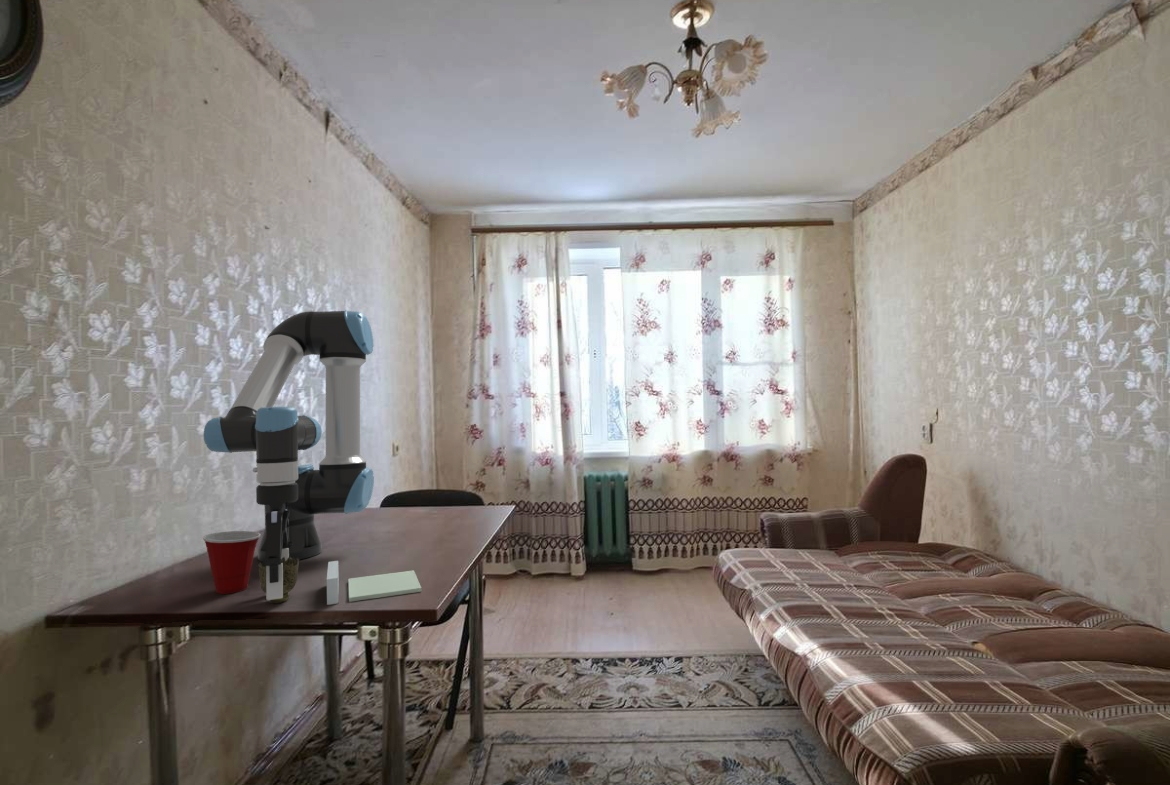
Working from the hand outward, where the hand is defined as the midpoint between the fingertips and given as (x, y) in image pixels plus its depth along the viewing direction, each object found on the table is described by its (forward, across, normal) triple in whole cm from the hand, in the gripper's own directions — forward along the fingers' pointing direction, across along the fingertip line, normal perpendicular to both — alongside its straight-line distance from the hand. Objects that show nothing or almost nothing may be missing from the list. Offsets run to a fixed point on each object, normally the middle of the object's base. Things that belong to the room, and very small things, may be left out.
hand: (278, 589), depth 118 cm
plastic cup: (+3, -13, -10) cm, 17 cm away
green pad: (+2, 0, +20) cm, 20 cm away
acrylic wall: (+2, 0, +10) cm, 10 cm away
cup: (+3, 0, 0) cm, 3 cm away
